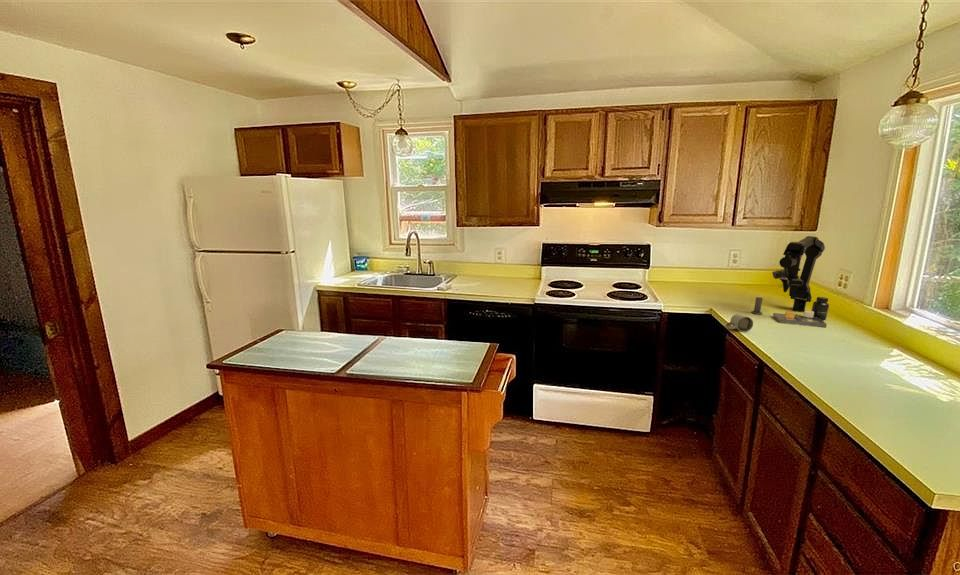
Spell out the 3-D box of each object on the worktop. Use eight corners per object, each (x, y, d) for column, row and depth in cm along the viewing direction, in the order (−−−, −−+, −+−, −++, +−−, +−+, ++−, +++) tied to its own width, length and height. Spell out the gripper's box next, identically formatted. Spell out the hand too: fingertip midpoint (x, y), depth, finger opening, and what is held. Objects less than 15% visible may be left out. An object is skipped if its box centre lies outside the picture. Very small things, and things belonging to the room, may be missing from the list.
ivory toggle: (803, 315, 225) (804, 310, 225) (811, 316, 224) (812, 310, 223) (804, 316, 223) (806, 311, 223) (813, 317, 222) (814, 311, 222)
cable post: (750, 311, 240) (752, 296, 238) (760, 312, 238) (763, 297, 236) (752, 314, 235) (755, 298, 233) (763, 315, 233) (766, 299, 231)
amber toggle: (784, 316, 224) (785, 310, 223) (792, 317, 223) (793, 311, 222) (785, 317, 222) (787, 311, 221) (794, 318, 221) (795, 312, 220)
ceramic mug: (743, 326, 213) (745, 312, 212) (752, 332, 205) (754, 317, 204) (721, 326, 214) (723, 311, 212) (729, 331, 206) (732, 316, 204)
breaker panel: (772, 316, 232) (773, 311, 231) (816, 320, 225) (817, 315, 225) (779, 322, 221) (780, 317, 220) (826, 327, 214) (827, 322, 214)
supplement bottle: (819, 321, 224) (824, 299, 221) (806, 317, 231) (811, 296, 228) (829, 320, 226) (833, 298, 223) (816, 316, 232) (820, 295, 230)
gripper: (770, 262, 238) (765, 288, 242) (780, 268, 221) (775, 296, 225) (793, 263, 235) (788, 290, 238) (806, 269, 217) (800, 298, 221)
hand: (787, 294), depth 231 cm, fingers open, 9 cm apart
